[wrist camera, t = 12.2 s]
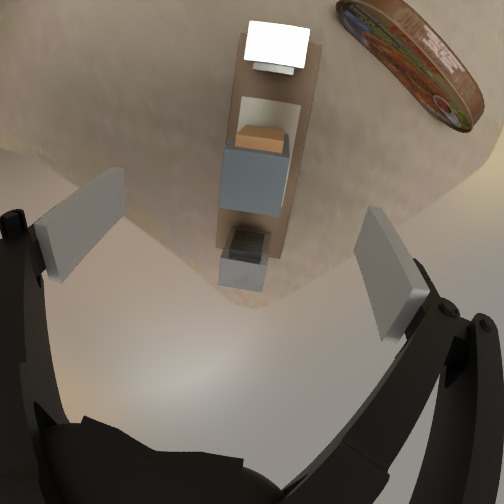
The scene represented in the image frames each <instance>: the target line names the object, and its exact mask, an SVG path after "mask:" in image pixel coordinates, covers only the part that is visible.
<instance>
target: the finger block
mask: <svg viewBox="0 0 504 504" xmlns="http://www.w3.org/2000/svg"><path fill="white" fill-rule="evenodd" d="M289 160H290V151H289V135H288V134H284V130H282V129H275V128H269V127H262V126H254V125H247V124H246V125H245V126H244V127H243V128H242V129H241V130H240V131H239V132H238V133H237V134H236V137H235V138H234V139H233V140H232V141H231V142H230V143H229V144H228V145H227V146H226V147H225V148H224V154H223V165H222V176H221V188H220V200H219V208H224V209H231V210H238V211H244V212H251V213H257V214H263V215H269V216H276V217H279V216H280V211H281V205H282V200H283V194H284V189H285V183H286V177H287V172H288V166H289Z"/></svg>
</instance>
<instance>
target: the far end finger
mask: <svg viewBox="0 0 504 504" xmlns="http://www.w3.org/2000/svg"><path fill="white" fill-rule="evenodd" d="M270 235H271V232H267V231H261V230H255V229H250V228H244V227H238V226H232V228H231V230H230V233H229V236H228V238H227V241H226V244H225V247H224V249H223V252H222V255H221V258H220V269H219V281H218V285H222V286H228V287H233V288H239V289H245V290H250V291H256V292H262V288H263V283H264V278H265V273H266V268H267V261H268V253H269V244H270Z"/></svg>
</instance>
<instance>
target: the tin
mask: <svg viewBox="0 0 504 504" xmlns="http://www.w3.org/2000/svg"><path fill="white" fill-rule="evenodd" d="M336 11H337V14H338V16H339V18H340V20H341V21H342V23H343V24H344V26H345V27H346V28H347V30H348V31H349V32H350V33H351V34H352V35H353V36H354V37H355V38H356V39H357V40H358V41H359V42H360V43H361V44H362V45H363V46H364V47H366V48H367V49H368V50H369V51H370V52H371V53H372V54H373V55H374V56H375V57H377V58H378V59H379V60H380V61H381V62H382V63H383V64H384V65H385V66H386V67H387V68H388V69H389V70H390V71H391V72H392V73H393V74H394V75H395V76H396V77H397V78H398V79H399V80H400V82H401V83H402V84H403V85H404V86H405V87H406V88H407V89H408V90H409V91H410V92H411V94H412V95H413V96H414V97H415V98H416V99H417V100H418V101H419V102H420V103H421V104H422V105H423V106H424V107H425V108H426V109H427V110H428V111H429V112H430V113H431V114H433V115H434V116H435V117H436V118H437V119H439V120H440V121H441V122H443V123H444V124H446V125H447V126H449V127H451V128H452V129H454V130H456V131H459V132H462V133H469V132H471V130H472V129H473V126H474V125H475V124H476V122H477V121H478V120H479V119H480V117H481V116H482V114H483V112H484V107H485V106H484V99H483V96H482V93H481V91H480V89H479V87H478V85H477V83H476V82H475V80H474V79H473V78H472V76H471V75H470V73H469V72H468V71H467V69H466V68H465V67H464V65H463V64H462V63H461V61H460V60H459V59H458V57H457V56H456V55H455V54H454V52H453V51H452V50H451V49H450V48H449V46H448V45H447V44H446V43H445V42H444V41H443V39H442V38H441V37H440V36H439V35H438V34H437V33H436V32H435V31H434V30H433V29H432V28H431V26H430V25H429V24H428V23H427V22H426V21H425V20H424V19H423V18H422V17H421V16H420V15H419V14H418V13H417V12H416V11H415V10H414V9H413V8H411V7H410V6H409V5H408V4H407V3H405V2H404V1H403V0H340V1H338V2H337V4H336Z"/></svg>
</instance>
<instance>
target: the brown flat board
mask: <svg viewBox="0 0 504 504" xmlns="http://www.w3.org/2000/svg"><path fill="white" fill-rule="evenodd" d="M247 36H248V34H242V33H241V35H240V42H239V48H238V55H237V62H236V69H235V76H234V83H233V91H232V98H231V106H230V114H229V122H228V130H227V139H226V146H227V145H228V144H229V143H230V142H231V141H232V140H233V139H234V138H235V137H236V134H237V133H238V132H239V131H240V130H241V129H242V128H243V127H244V126H245V125H246V124H247V125H254V126H262V127H269V128H275V129H282V130H284V134H288V135H289V151H290V160H289V166H288V172H287V177H286V183H285V189H284V194H283V200H282V205H281V211H280V216H279V217H276V216H269V215H263V214H257V213H251V212H244V211H238V210H231V209H224V208H219V217H218V228H217V240H216V248H221V249H224V247H225V244H226V241H227V238H228V236H229V233H230V230H231V228H232V226H238V227H244V228H250V229H255V230H261V231H267V232H271V235H270V244H269V253H268V257H272V258H278V259H280V256H281V252H282V247H283V243H284V238H285V234H286V229H287V225H288V220H289V216H290V211H291V206H292V202H293V197H294V192H295V187H296V182H297V177H298V173H299V168H300V163H301V158H302V153H303V148H304V142H305V137H306V132H307V127H308V122H309V116H310V111H311V106H312V100H313V95H314V89H315V83H316V78H317V72H318V66H319V60H320V54H321V48H322V45H317V44H312V43H308V45H307V51H306V57H305V63H304V68H303V69H302V71H301V72H300V73H299V72H294V73H293V76H292V77H290V76H284V75H277V74H271V73H264V72H257V71H255V70H253V65H252V64H250V63H249V62H247V61H245V60H244V55H245V48H246V42H247Z"/></svg>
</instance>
